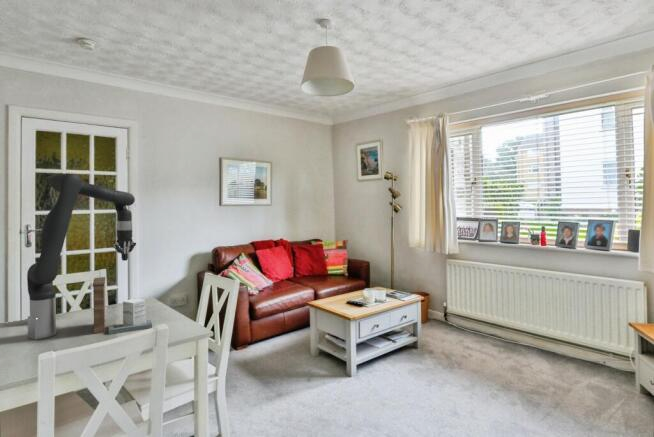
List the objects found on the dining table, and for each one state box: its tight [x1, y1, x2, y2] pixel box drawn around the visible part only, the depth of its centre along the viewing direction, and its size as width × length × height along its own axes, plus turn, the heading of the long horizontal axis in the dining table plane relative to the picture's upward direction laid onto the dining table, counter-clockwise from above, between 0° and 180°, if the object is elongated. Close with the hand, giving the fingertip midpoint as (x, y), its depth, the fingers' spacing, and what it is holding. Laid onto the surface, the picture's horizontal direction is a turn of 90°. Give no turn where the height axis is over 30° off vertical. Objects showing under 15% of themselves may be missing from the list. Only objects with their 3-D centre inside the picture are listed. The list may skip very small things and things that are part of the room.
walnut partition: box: [91, 276, 106, 335], centre depth 172 cm, size 17×5×23 cm, turn 30°
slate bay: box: [108, 319, 153, 335], centre depth 172 cm, size 7×18×2 cm, turn 121°
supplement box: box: [122, 297, 147, 327], centre depth 176 cm, size 7×7×13 cm
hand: (124, 260), depth 197 cm, fingers closed
